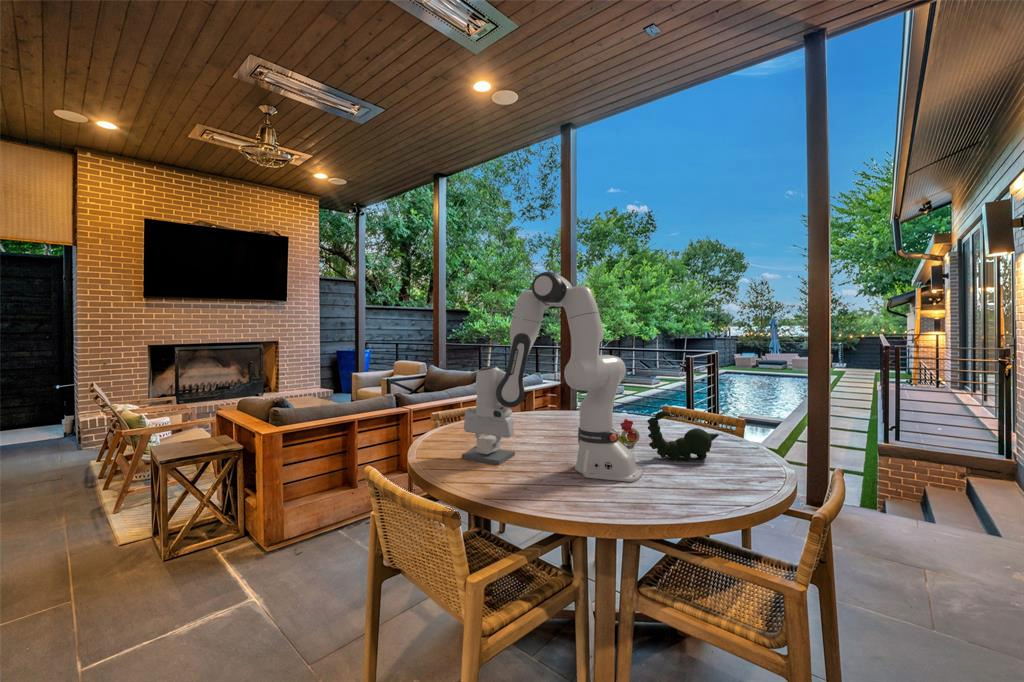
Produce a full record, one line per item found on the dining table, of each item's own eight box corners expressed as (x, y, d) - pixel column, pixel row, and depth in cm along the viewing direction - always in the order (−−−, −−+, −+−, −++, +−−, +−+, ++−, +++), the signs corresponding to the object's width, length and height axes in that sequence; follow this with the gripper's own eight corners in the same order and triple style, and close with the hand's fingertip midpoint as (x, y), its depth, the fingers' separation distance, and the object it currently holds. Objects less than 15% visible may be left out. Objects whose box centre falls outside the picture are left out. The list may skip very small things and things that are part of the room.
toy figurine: (655, 467, 158) (726, 461, 158) (651, 415, 157) (722, 408, 157) (648, 459, 168) (714, 453, 167) (643, 409, 167) (710, 403, 166)
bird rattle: (630, 448, 183) (610, 440, 182) (641, 423, 182) (621, 415, 182) (635, 453, 176) (615, 444, 176) (646, 427, 176) (626, 419, 175)
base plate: (514, 455, 168) (514, 451, 168) (499, 464, 158) (499, 460, 158) (479, 449, 176) (479, 446, 176) (461, 458, 165) (461, 454, 165)
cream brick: (500, 448, 169) (500, 437, 168) (487, 454, 162) (486, 442, 162) (490, 446, 172) (489, 435, 171) (476, 452, 165) (476, 440, 165)
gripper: (460, 408, 168) (460, 444, 169) (507, 413, 158) (508, 452, 159) (469, 405, 174) (470, 440, 174) (515, 410, 164) (516, 447, 165)
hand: (488, 446), depth 167 cm, fingers closed on cream brick, 5 cm apart
